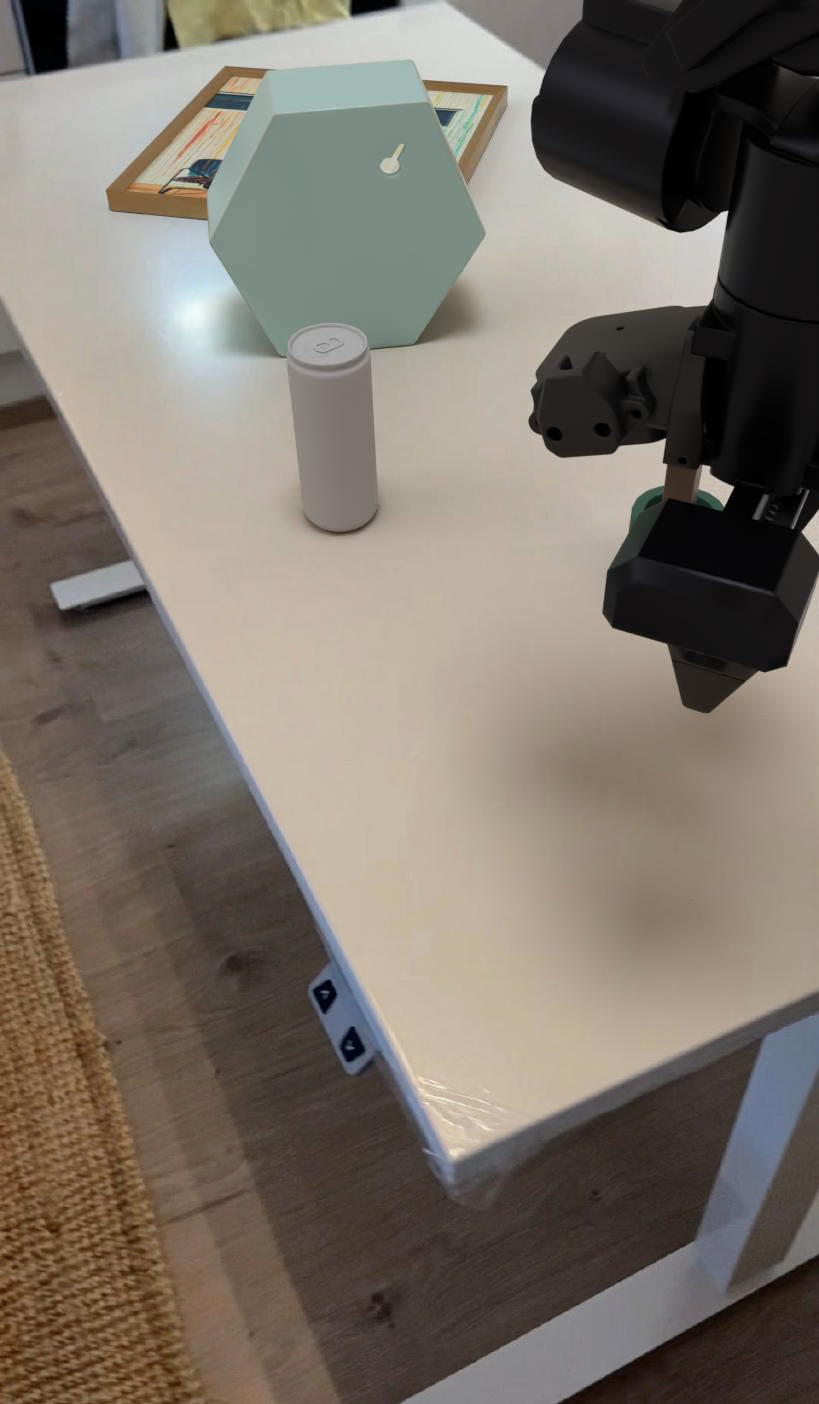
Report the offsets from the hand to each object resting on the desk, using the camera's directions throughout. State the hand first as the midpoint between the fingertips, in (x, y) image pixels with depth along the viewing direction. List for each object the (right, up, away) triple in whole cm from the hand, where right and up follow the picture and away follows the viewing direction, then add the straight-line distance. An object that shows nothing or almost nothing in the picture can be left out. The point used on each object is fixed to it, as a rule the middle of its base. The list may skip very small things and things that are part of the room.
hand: (728, 634), depth 49 cm
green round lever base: (+2, +5, +22) cm, 23 cm away
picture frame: (-22, +49, +64) cm, 84 cm away
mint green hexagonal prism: (-18, +26, +43) cm, 53 cm away
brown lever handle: (+2, +6, +21) cm, 22 cm away
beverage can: (-18, +9, +27) cm, 33 cm away
